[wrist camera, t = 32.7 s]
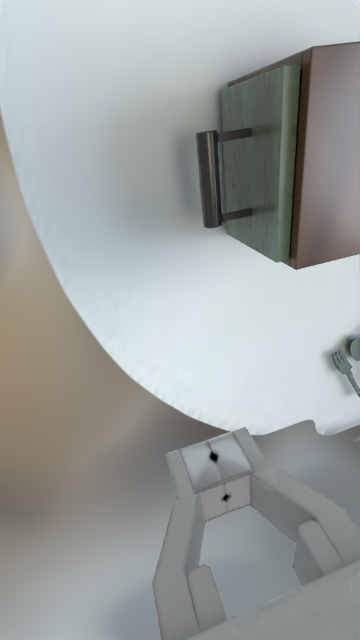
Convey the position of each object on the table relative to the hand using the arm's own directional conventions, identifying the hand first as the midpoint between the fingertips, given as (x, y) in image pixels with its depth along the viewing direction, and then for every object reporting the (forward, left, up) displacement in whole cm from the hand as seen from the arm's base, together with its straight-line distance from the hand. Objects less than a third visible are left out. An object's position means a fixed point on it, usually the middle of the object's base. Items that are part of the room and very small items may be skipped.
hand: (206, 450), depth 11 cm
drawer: (+16, +6, -24) cm, 30 cm away
